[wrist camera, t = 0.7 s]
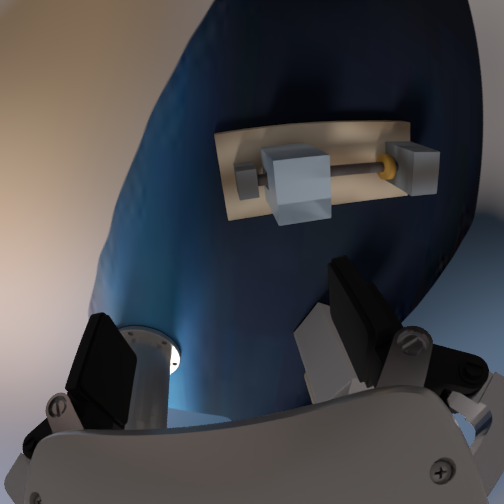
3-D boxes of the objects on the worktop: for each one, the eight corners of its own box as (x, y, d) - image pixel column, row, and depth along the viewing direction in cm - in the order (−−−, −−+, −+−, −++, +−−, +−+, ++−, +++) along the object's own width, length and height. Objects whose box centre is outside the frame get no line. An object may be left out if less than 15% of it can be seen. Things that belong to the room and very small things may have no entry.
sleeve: (308, 193, 32) (331, 217, 26) (265, 199, 32) (279, 225, 26) (305, 142, 29) (329, 154, 23) (259, 147, 29) (272, 160, 23)
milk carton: (317, 301, 43) (364, 404, 27) (349, 312, 46) (398, 405, 29) (292, 332, 46) (325, 434, 30) (325, 341, 48) (362, 432, 32)
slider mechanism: (401, 191, 36) (433, 212, 29) (227, 215, 35) (231, 245, 28) (403, 120, 31) (440, 130, 24) (214, 133, 30) (214, 142, 23)
